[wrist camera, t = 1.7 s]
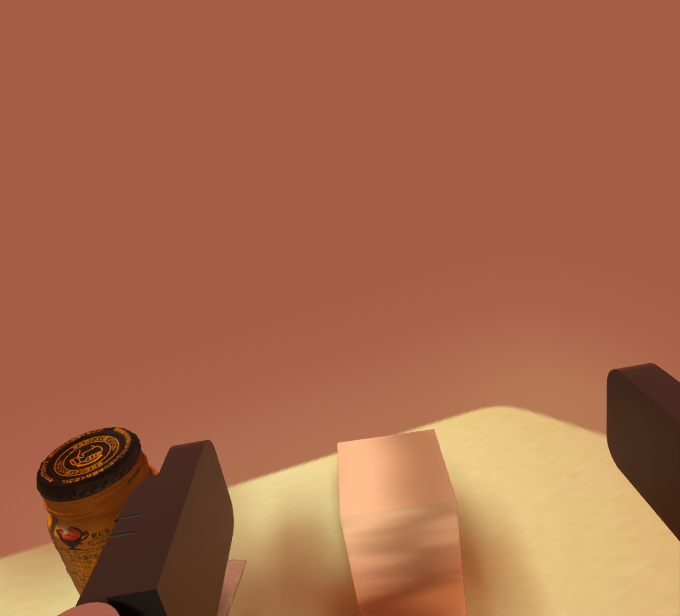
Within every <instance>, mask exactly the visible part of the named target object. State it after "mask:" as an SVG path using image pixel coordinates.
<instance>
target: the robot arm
mask: <svg viewBox="0 0 680 616" xmlns="http://www.w3.org/2000/svg"><path fill="white" fill-rule="evenodd" d="M607 442H608V447H609V450H610V453H611V456H612V458H613V460H614V462H615V464H616V465H617V467H618V468H619V470H620V471H621V472H622V473H623V474H624V475H625V477H626V478H627V479H628V480H629V481H630V483H631V484H632V485H633V486H634V487H635V489H636V490H637V491H638V492H639V493H640V495H641V496H642V497H643V498H644V499H645V500H646V502H647V503H648V504H649V505H650V506H651V508H652V509H653V510H654V511H655V512H656V514H657V515H658V516H659V517H660V518H661V520H662V521H663V522H664V523H665V524H666V525H667V527H668V528H669V529H670V530H671V531H672V533H673V534H674V535H675V536H676V537H677V539H678V540H679V541H680V382H678V381H677V380H676V379H674V378H673V377H672V376H670V375H669V374H668V373H666V372H665V371H664V370H662V369H661V368H660V367H658V366H657V365H655V364H653V363H648V364H642V365H636V366H630V367H625V368H619V369H613V370H611V371H610V372H609V374H608V378H607ZM118 518H119V521H116V523H115V525H114V527H113V529H112V531H111V533H110V539H109V540H107V542H106V544H105V546H104V548H103V550H102V552H101V554H100V556H99V558H98V561H97V563H96V565H95V567H94V569H93V571H92V573H91V575H90V577H89V579H88V581H87V583H86V585H85V588H84V590H83V592H82V594H81V596H80V598H79V600H78V602H77V604H76V606H75V607H73V608H71V609H69V610H67V611H65V612H63V613H61V614H60V615H58V616H217V613H218V608H219V603H220V598H221V593H222V587H223V582H224V577H225V572H226V567H227V561H228V556H229V551H230V546H231V541H232V536H233V527H234V518H233V509H232V503H231V499H230V496H229V493H228V489H227V486H226V483H225V480H224V477H223V473H222V470H221V467H220V464H219V461H218V457H217V454H216V451H215V448H214V446H213V444H212V442H211V441H210V440H205V441H199V442H193V443H187V444H182V445H176V446H172V447H171V448H170V449H169V452H168V454H167V456H166V458H165V461H164V463H163V465H162V468H161V470H160V472H159V474H157V475H151V476H147V477H146V478H145V479H144V480H143V481H142V482H141V483H140V484H139V486H138V487H137V488H136V489H135V490H134V491H133V492H132V493H131V494H130V495H129V496H128V498H127V500H126V502H125V504H124V506H123V508H122V511H121V513H120V515H119V517H118Z"/></svg>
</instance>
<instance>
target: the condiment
mask: <svg viewBox="0 0 680 616" xmlns="http://www.w3.org/2000/svg"><path fill="white" fill-rule="evenodd" d="M157 474H158V472H157V471H156V470H155V469H154V468H153V467H152V466H151V465H148V461H147V457H146V455H145V454H144V453H143V452H142V451H141V444H140V440H139V439H138V437H137V435H136V434H134V433H132V432H130V431H128V430H126V429H124V428H115V427H112V428H104V429H98V430H94V431H90V432H88V433H84V434H82V435H80V436H77V437H76V438H73V439H71V440H69V441H68V442H66V443H64V444H63V445H61V446H60V447H58V448H57V449H56V450H54V451H53V452H52V453H51V454H50V455H49V456H48V457H47V458H46V460H45V461H44V462H42V463H41V466H40V469H39V470H38V473H37V489H38V491H39V492H40V494H41V496H42V497H43V499H44V505H45V507H46V509H47V511H48V512H49V514H48V520H47V525H48V530H49V533H50V535H51V539H52V540H53V543H54V545H55V548H56V549H57V550H58V552H59V553H60V556H61V558H62V560H63V562H64V564H65V566H66V570H67V572H68V574H69V575H70V576H71V578H72V580H73V583H74V585H75V587H76V589H77V591H78V592H79V594H80V596H81V594H82V592H83V590H84V588H85V585H86V583H87V581H88V579H89V577H90V575H91V573H92V571H93V569H94V567H95V565H96V563H97V561H98V558H99V556H100V554H101V552H102V550H103V548H104V546H105V544H106V542H107V540H109V539H110V533H111V531H112V529H113V527H114V525H115V523H116V521H119V518H118V517H119V515H120V513H121V511H122V508H123V506H124V504H125V502H126V500H127V498H128V496H129V495H130V494H131V493H132V492H133V491H134V490H135V489H136V488H137V487H138V486H139V484H140V483H141V482H142V481H143V480H144V479H145V478H146V477H147V476H151V475H157ZM245 563H246V561H239V560H228V561H227V567H226V572H225V577H224V582H223V587H222V593H221V598H220V603H219V608H218V613H217V616H227V613H228V610H229V608H230V606H231V604H232V600H233V597H234V594H235V591H236V588H237V585H238V583H239V581H240V578H241V574H242V571H243V568H244V566H245Z"/></svg>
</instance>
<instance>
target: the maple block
mask: <svg viewBox="0 0 680 616" xmlns="http://www.w3.org/2000/svg"><path fill="white" fill-rule="evenodd" d="M338 472H339V501H340V519H341V524H342V529H343V533H344V538H345V543H346V548H347V553H348V558H349V563H350V568H351V573H352V578H353V583H354V588H355V593H356V598H357V603H358V608H359V613H360V616H466V607H465V596H464V584H463V572H462V561H461V549H460V538H459V526H458V514H457V503H456V498H455V495H454V491H453V488H452V485H451V482H450V479H449V475H448V472H447V469H446V466H445V463H444V459H443V456H442V453H441V450H440V446H439V443H438V440H437V437H436V434H435V430H434V429H432V430H425V431H418V432H411V433H404V434H397V435H390V436H383V437H376V438H369V439H362V440H355V441H348V442H341V443H338Z"/></svg>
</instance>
